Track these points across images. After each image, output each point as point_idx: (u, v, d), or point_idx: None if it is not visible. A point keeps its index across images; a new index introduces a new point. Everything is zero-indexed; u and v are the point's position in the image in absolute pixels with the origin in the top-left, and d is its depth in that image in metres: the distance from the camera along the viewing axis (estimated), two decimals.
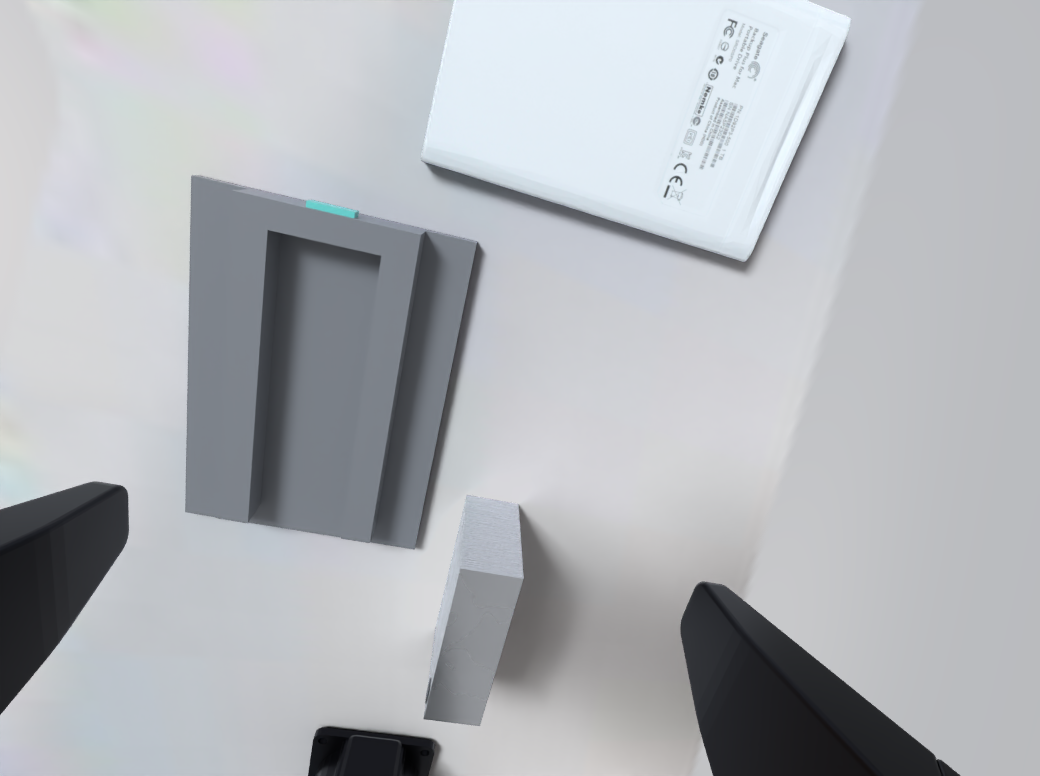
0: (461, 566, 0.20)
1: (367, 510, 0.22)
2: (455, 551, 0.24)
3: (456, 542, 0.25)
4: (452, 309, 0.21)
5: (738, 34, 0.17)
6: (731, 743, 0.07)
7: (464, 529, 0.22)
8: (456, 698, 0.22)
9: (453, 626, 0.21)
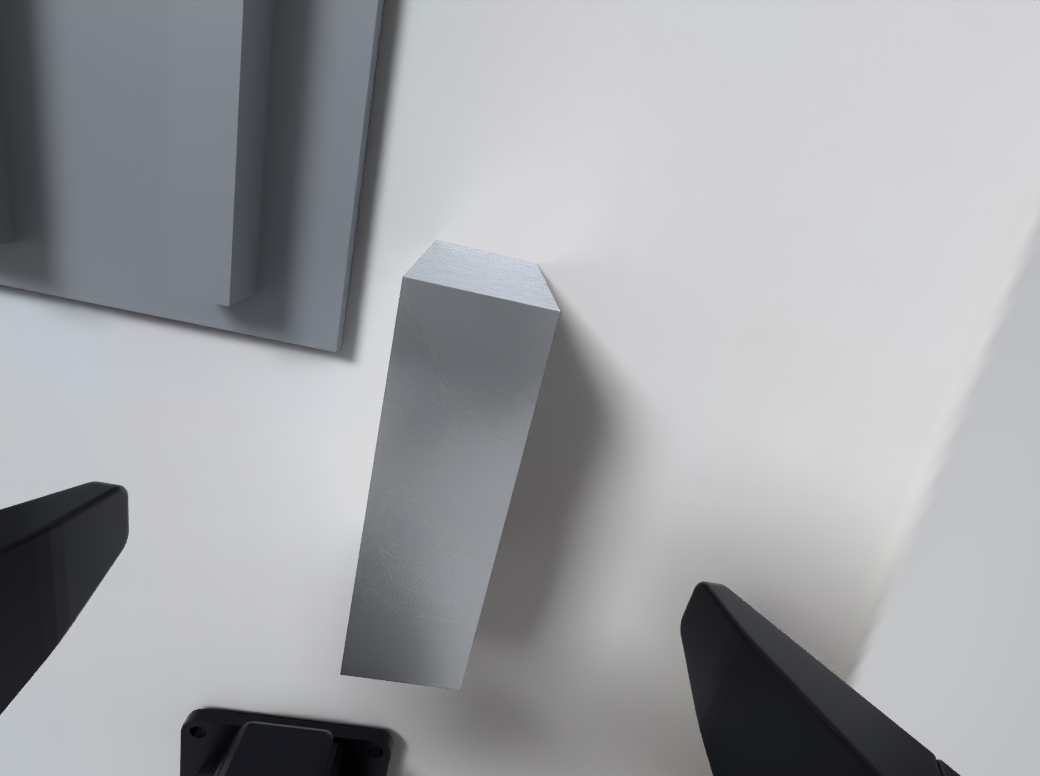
0: (407, 275, 0.08)
1: (216, 222, 0.10)
2: None
3: None
4: None
5: None
6: (731, 743, 0.07)
7: None
8: (407, 628, 0.10)
9: (393, 448, 0.09)
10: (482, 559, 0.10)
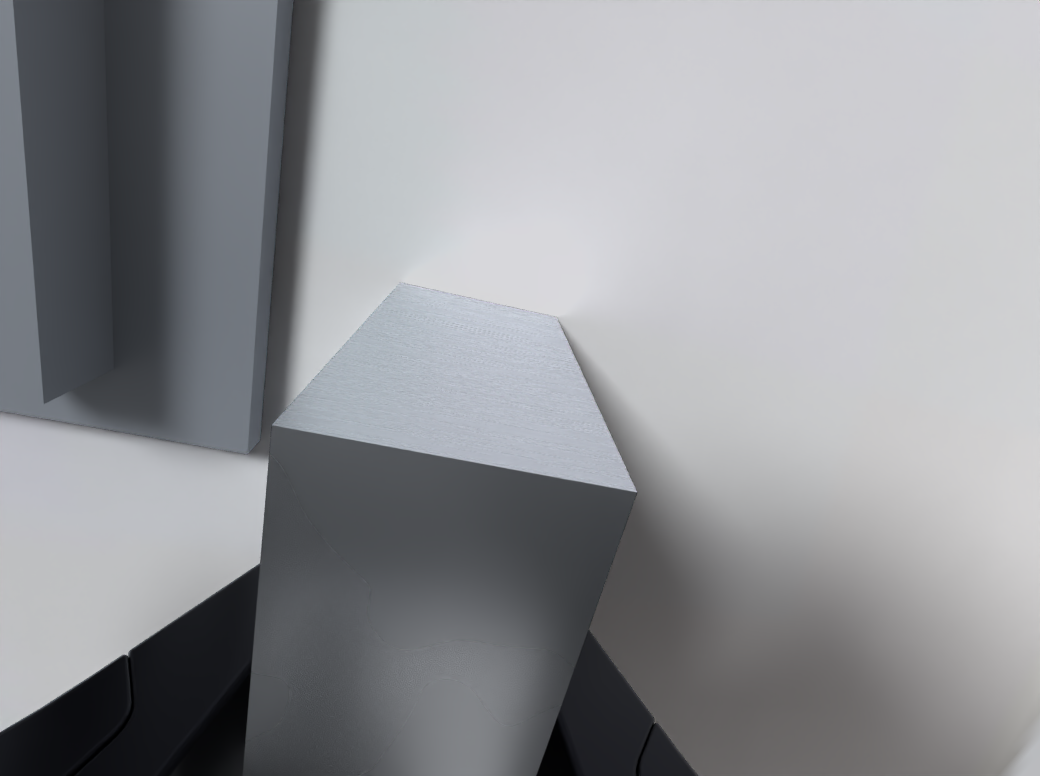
0: (288, 415, 0.04)
1: (3, 267, 0.06)
2: None
3: None
4: None
5: None
6: None
7: (362, 330, 0.06)
8: None
9: (283, 742, 0.04)
10: None
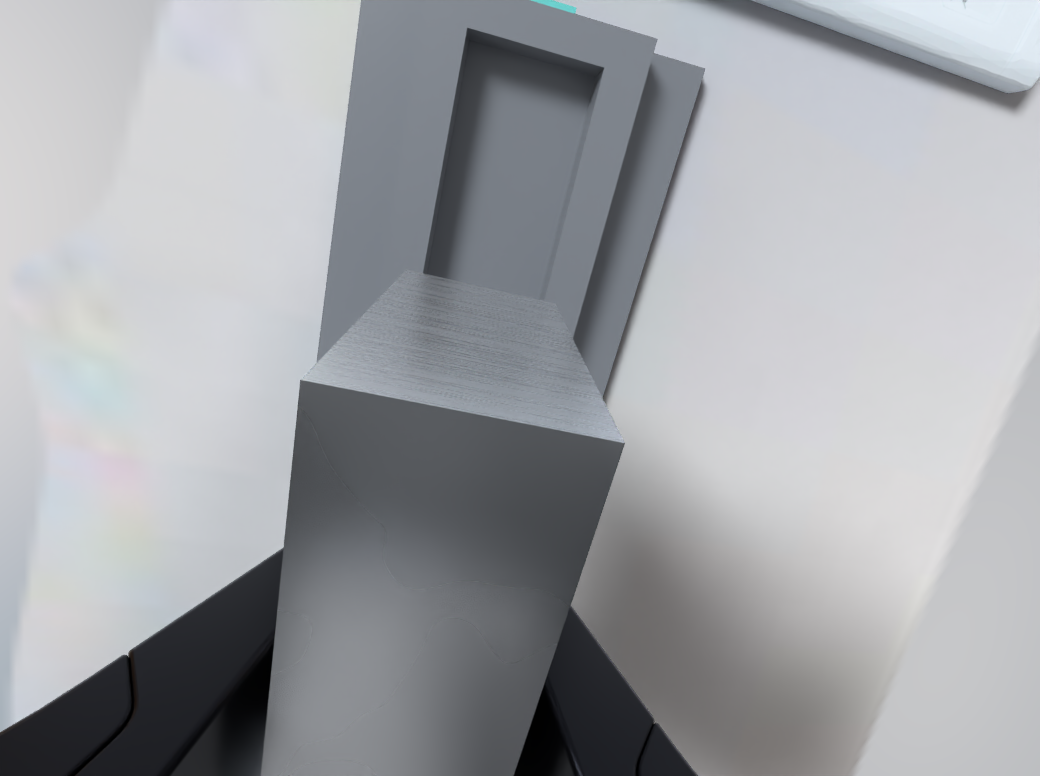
0: (314, 374, 0.04)
1: None
2: None
3: None
4: (664, 158, 0.17)
5: None
6: None
7: (374, 308, 0.06)
8: None
9: (304, 677, 0.05)
10: None
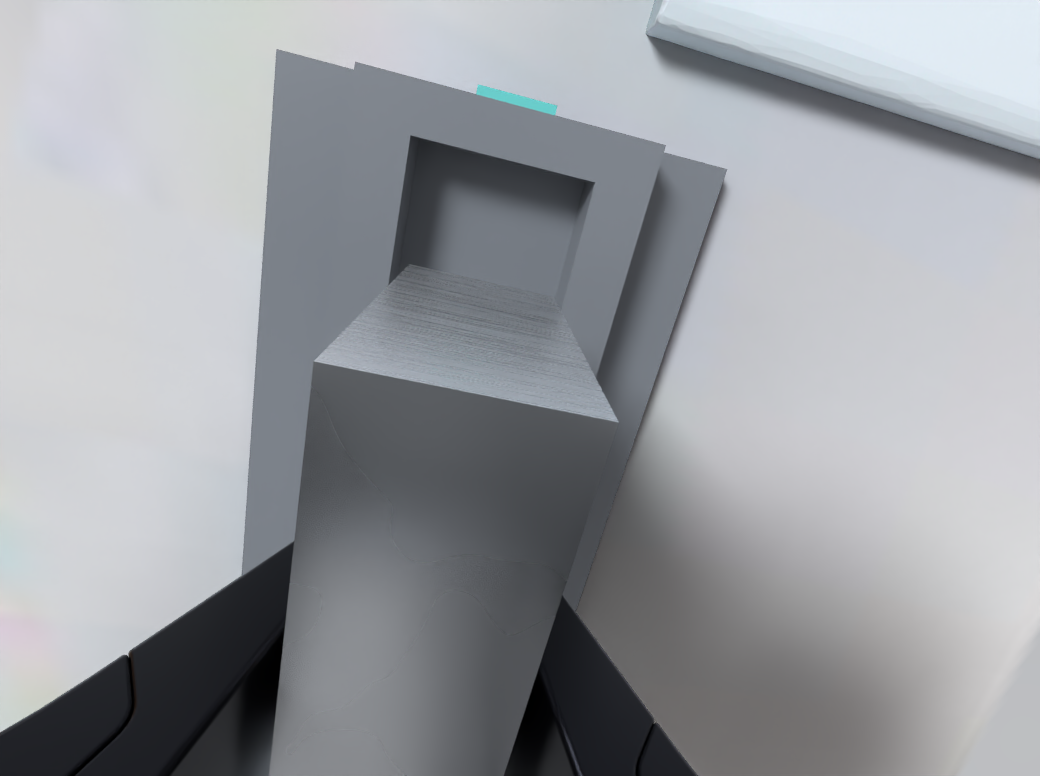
0: (325, 356, 0.04)
1: None
2: None
3: None
4: (673, 278, 0.13)
5: None
6: None
7: (379, 299, 0.06)
8: None
9: (315, 648, 0.05)
10: None
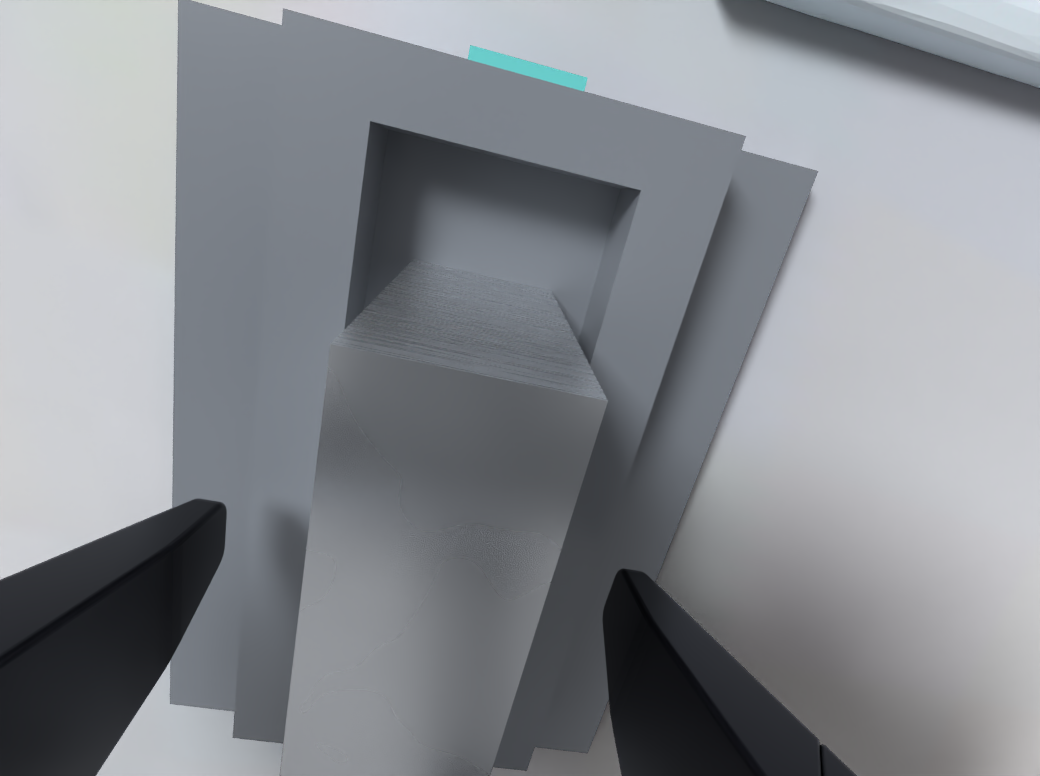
0: (341, 339, 0.05)
1: (530, 717, 0.11)
2: None
3: None
4: (736, 319, 0.10)
5: None
6: (634, 731, 0.07)
7: (386, 291, 0.07)
8: None
9: (329, 612, 0.05)
10: (474, 762, 0.06)
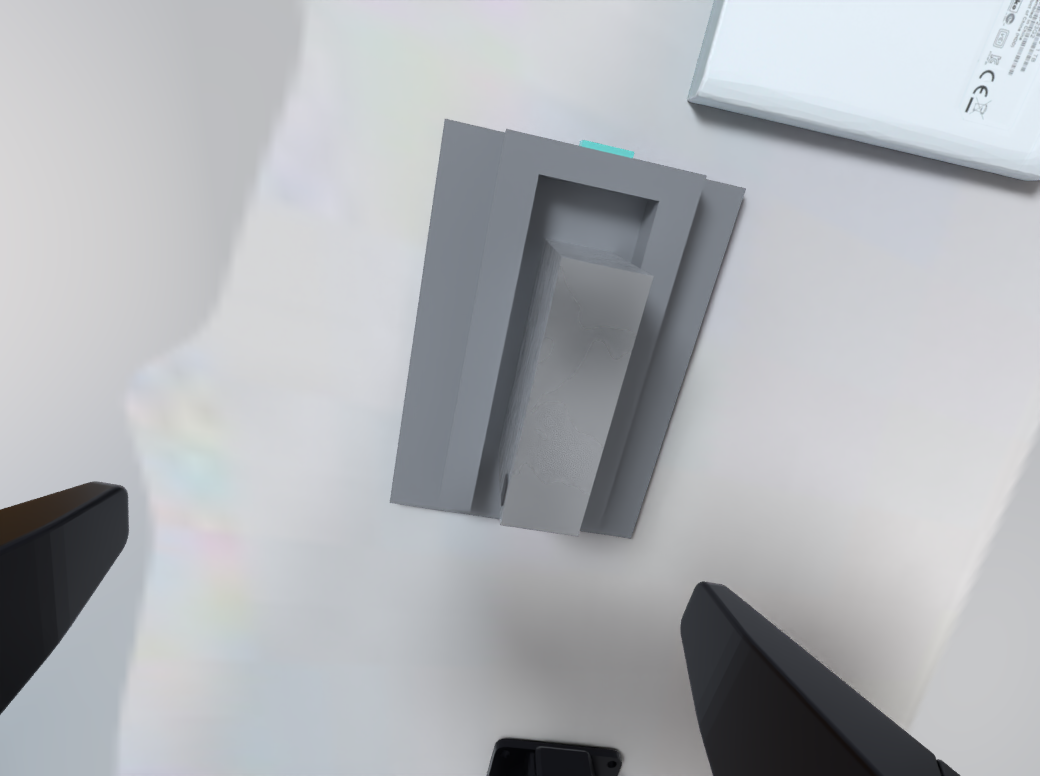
0: (563, 256, 0.14)
1: (601, 493, 0.20)
2: (532, 312, 0.18)
3: (531, 308, 0.18)
4: (708, 265, 0.19)
5: None
6: (731, 743, 0.07)
7: (553, 247, 0.16)
8: (546, 490, 0.16)
9: (548, 364, 0.15)
10: (598, 440, 0.15)
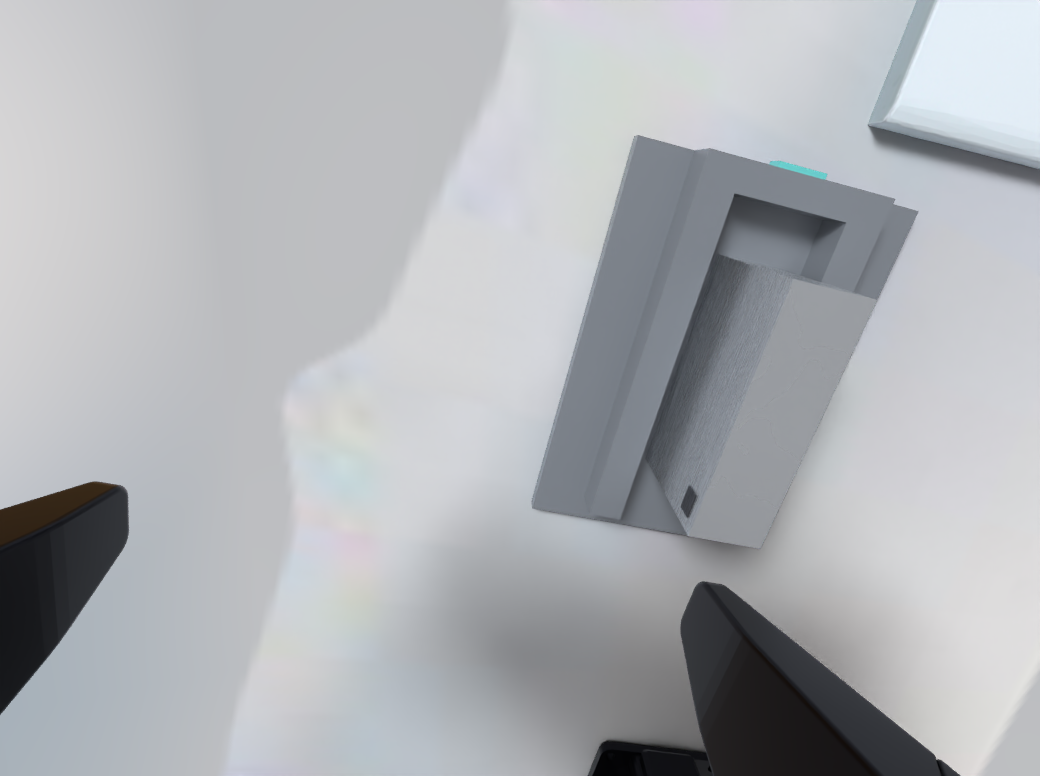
0: (792, 278, 0.14)
1: None
2: (707, 326, 0.18)
3: (700, 322, 0.19)
4: (872, 285, 0.19)
5: None
6: (731, 743, 0.07)
7: (752, 266, 0.16)
8: (738, 504, 0.16)
9: (761, 382, 0.15)
10: (796, 456, 0.16)
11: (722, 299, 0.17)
